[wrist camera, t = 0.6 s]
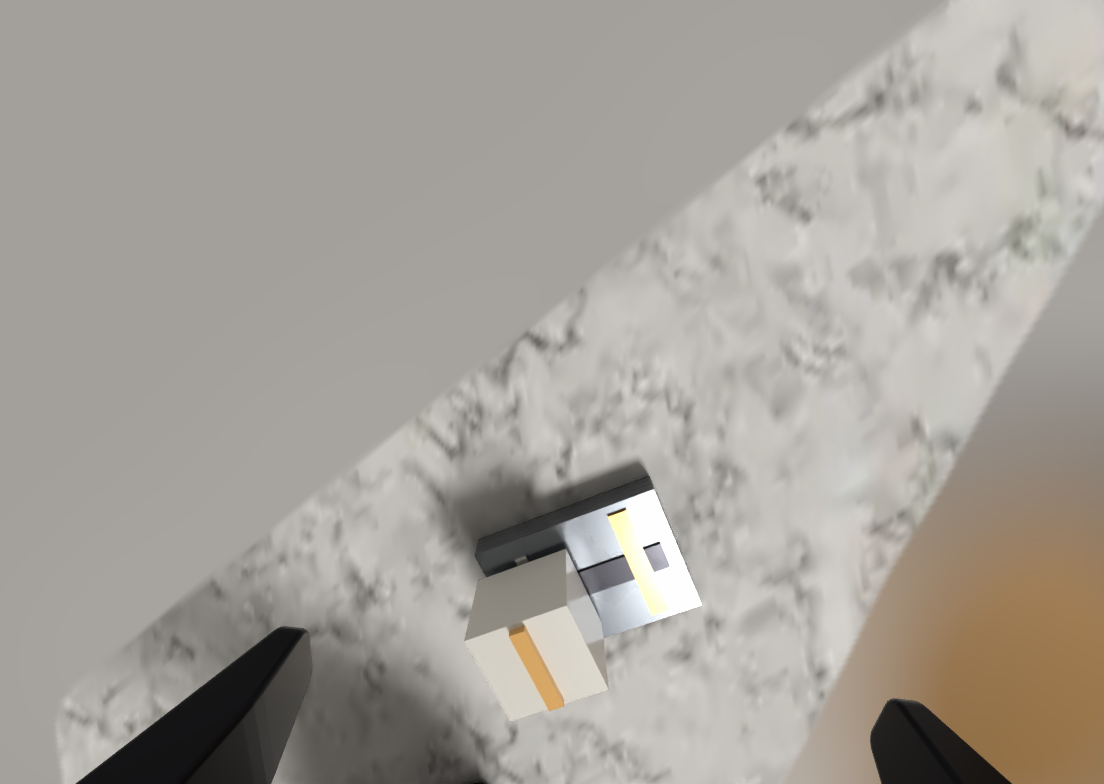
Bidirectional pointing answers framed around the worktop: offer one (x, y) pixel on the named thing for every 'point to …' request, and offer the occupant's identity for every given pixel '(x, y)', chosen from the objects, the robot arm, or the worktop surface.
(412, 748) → the worktop surface
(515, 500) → the worktop surface
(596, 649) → the block
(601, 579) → the panel
